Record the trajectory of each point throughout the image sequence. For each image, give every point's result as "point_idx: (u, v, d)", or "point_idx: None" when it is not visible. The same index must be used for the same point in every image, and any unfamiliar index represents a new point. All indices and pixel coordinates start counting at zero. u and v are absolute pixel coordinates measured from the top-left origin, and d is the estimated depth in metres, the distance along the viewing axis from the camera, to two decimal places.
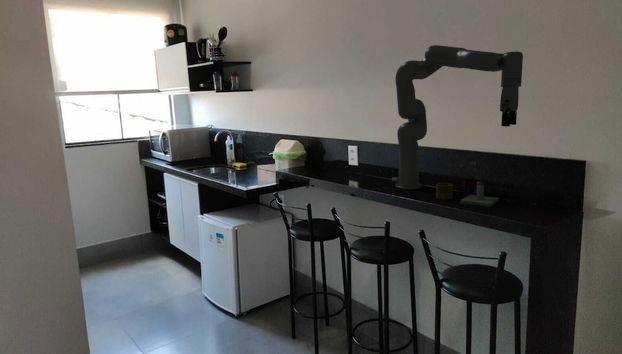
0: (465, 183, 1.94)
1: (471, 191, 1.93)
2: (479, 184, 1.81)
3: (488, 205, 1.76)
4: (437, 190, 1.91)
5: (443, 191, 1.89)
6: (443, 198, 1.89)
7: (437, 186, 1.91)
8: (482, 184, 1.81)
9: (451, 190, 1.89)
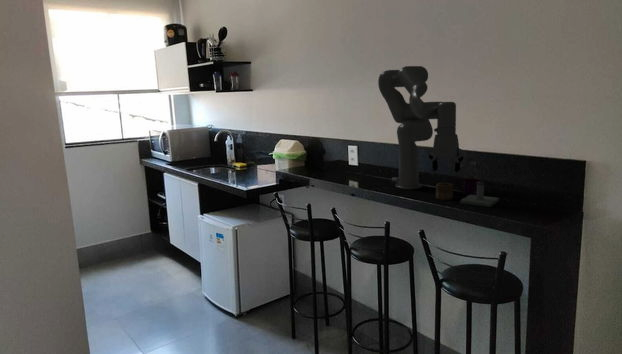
0: (465, 183, 1.94)
1: (471, 191, 1.93)
2: (479, 184, 1.81)
3: (488, 205, 1.76)
4: (437, 190, 1.91)
5: (443, 191, 1.89)
6: (443, 198, 1.89)
7: (437, 186, 1.91)
8: (482, 184, 1.81)
9: (451, 190, 1.89)
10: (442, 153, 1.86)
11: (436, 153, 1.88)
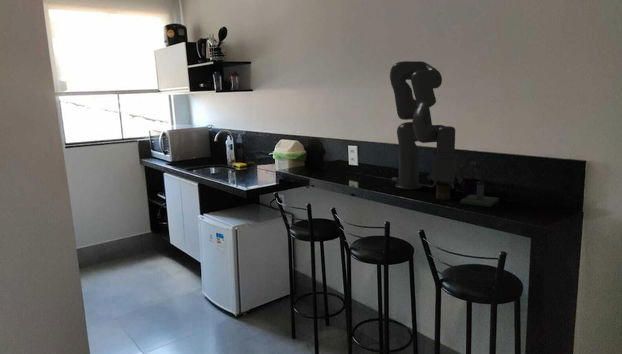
0: (465, 183, 1.94)
1: (471, 191, 1.93)
2: (479, 184, 1.81)
3: (488, 205, 1.76)
4: (437, 190, 1.91)
5: (443, 191, 1.89)
6: (443, 198, 1.89)
7: (437, 186, 1.91)
8: (482, 184, 1.81)
9: None
10: (440, 176, 1.89)
11: (435, 177, 1.90)
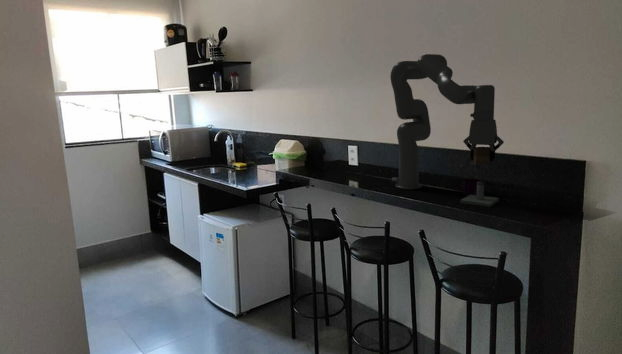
0: (465, 183, 1.94)
1: (471, 191, 1.93)
2: (479, 184, 1.81)
3: (488, 205, 1.76)
4: (475, 154, 1.79)
5: (482, 154, 1.77)
6: (482, 162, 1.77)
7: (475, 149, 1.79)
8: (482, 184, 1.81)
9: None
10: (479, 139, 1.77)
11: (472, 139, 1.79)
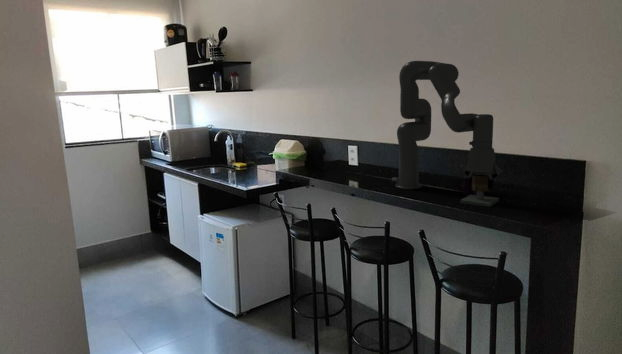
0: (465, 183, 1.94)
1: (471, 191, 1.93)
2: None
3: (488, 205, 1.76)
4: (473, 181, 1.81)
5: (480, 182, 1.79)
6: (480, 190, 1.79)
7: (473, 177, 1.81)
8: None
9: None
10: (477, 167, 1.79)
11: (471, 167, 1.81)
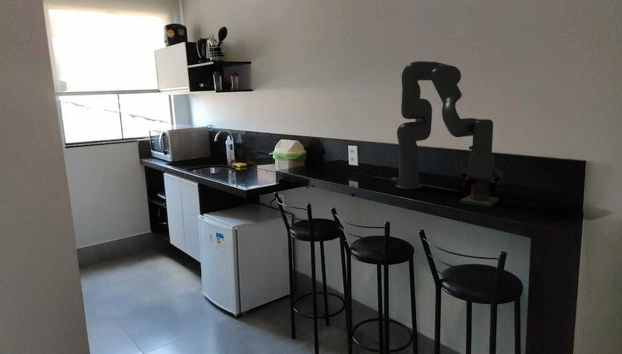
0: (465, 183, 1.94)
1: None
2: (479, 184, 1.81)
3: (488, 205, 1.76)
4: (473, 191, 1.82)
5: (479, 192, 1.80)
6: (479, 199, 1.80)
7: (473, 187, 1.82)
8: (482, 184, 1.81)
9: (487, 191, 1.81)
10: (477, 172, 1.80)
11: (471, 172, 1.81)
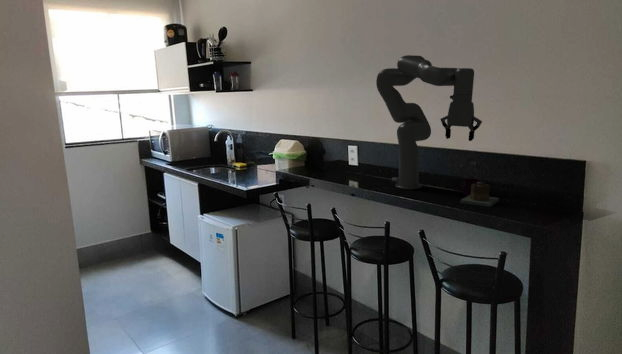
0: (465, 183, 1.94)
1: None
2: (479, 184, 1.81)
3: (488, 205, 1.76)
4: (473, 191, 1.82)
5: (479, 192, 1.80)
6: (479, 199, 1.80)
7: (473, 187, 1.82)
8: (482, 184, 1.81)
9: (487, 191, 1.81)
10: (456, 120, 1.83)
11: (450, 121, 1.85)
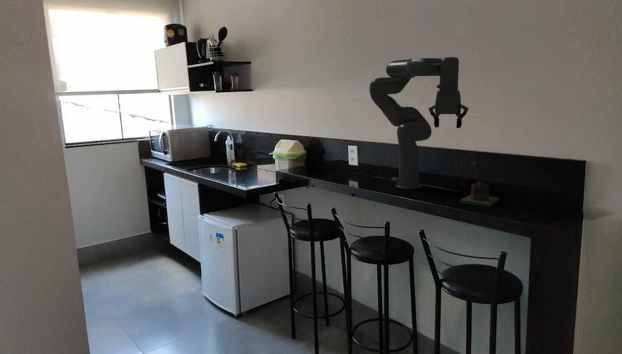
0: (465, 183, 1.94)
1: None
2: (479, 184, 1.81)
3: (488, 205, 1.76)
4: (473, 191, 1.82)
5: (479, 192, 1.80)
6: (479, 199, 1.80)
7: (473, 187, 1.82)
8: (482, 184, 1.81)
9: (487, 191, 1.81)
10: (444, 108, 1.87)
11: (438, 109, 1.89)
